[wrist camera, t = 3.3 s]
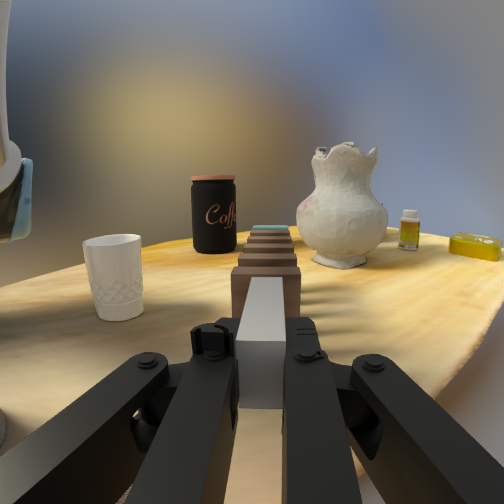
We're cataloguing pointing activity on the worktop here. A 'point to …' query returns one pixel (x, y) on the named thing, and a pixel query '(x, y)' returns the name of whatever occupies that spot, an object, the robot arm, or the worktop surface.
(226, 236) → the coffee jar
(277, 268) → the domino
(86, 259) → the white cup
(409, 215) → the supplement bottle
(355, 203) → the ceramic pitcher
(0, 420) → the pillar candle
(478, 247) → the element tile
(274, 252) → the domino
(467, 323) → the worktop surface
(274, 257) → the domino
